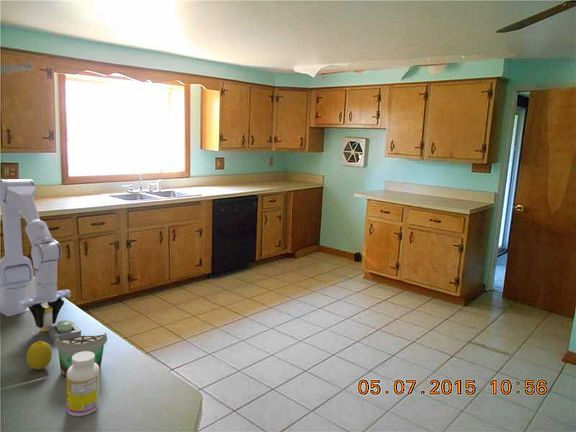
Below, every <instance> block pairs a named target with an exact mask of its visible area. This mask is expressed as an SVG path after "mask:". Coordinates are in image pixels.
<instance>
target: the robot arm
mask: <svg viewBox="0 0 576 432" xmlns="http://www.w3.org/2000/svg"><path fill="white" fill-rule="evenodd" d="M36 185H37V184H36V182H35V181H34V180H33V179H32V178H27V179H26V178H24V179H19V178H18V179H15V178H14V179H3V178H0V207H1V217H2V218H1V219H2V235H3V245H4V246H3V249H4V256H3V257H1V259H0V313H1V314H3V315H5V316H7V317H11V316H15V315H19V314H22V313H26V312H29V311H30V312H31V314H32V317H33V319H34V321H35V325H36V326H35V327H37V328H39V329H40V328H42V327H43V315H44V311H45V308H44V307H42V306H43V305H42V304H46V303H47V305H49V306H53V325H55V322H56V323H57V319H58V315H59V313H60V311H61V309H62V308H63V306H64V304H65V300H64V299H63V298H71V293H72V291H71V290H69V289H60V290H58V261H59V260H61V259H62V254H63V253H62V246H61V245H60V243H59V242H58V240H56V238H53V237H52V234H51V232H50V230H49V227H48V225H47V222H45V221H44V220H41V219H40V215H39V211H38V208H37V205H36V201H35V199H36V196H37V186H36ZM21 215H22V218H23V219H24V220H25V223H26V226H25V228H24V231H25V233H26V235H27V238H28V240H29V242H30V246H31V251H30V255H31V256H30V257H31V259H30V258H29V257H27V256H24V255H23V254H24V253H23V243H22V242H23V239H22V224H21V223H22V222H21ZM34 277H35V278H34ZM33 279H34V295H33V296H31V297H28V285H30V282H32V281H33Z"/></svg>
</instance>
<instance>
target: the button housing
mask: <svg viewBox="0 0 576 432" xmlns="http://www.w3.org/2000/svg"><path fill="white" fill-rule="evenodd" d="M72 322H73V323H72V331H69V332H64V333H59V334H58V332H57V325H53V326H51V327H49V331H48V332H49V333H48V335H49V337H50V339H51V340H52V341H53V343H54V344H55V341H56V339H57V337H58V339H59V340H62V339H70V338H75V337H79V336H82V330H81V329H80V328H79V326H78V325H77V324H76V323H75V322H74V321H72Z"/></svg>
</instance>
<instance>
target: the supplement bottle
mask: <svg viewBox="0 0 576 432" xmlns="http://www.w3.org/2000/svg"><path fill="white" fill-rule="evenodd" d="M94 361H95V354H94V353H93V352H90V351H83V352H78V353H76V354H74V355H73V356H72V366H70V367H69V369H68V370H67V378H66V388H65V389H66V392H65V393H66V394H65V395H66V398H65V399H66V400H65V401H66V402H65V403H66V404H65V407H66V408H65V409H66V412H67V413H68V415H70V416H73V417H84V416H88V415H91V414H92V413H93V412H95V411H96V410H97V409H98V407H99V405H100V403H99V401H100V400H99V399H100V371H99V366H98V364H96V363H95V362H94Z"/></svg>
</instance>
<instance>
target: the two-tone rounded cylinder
mask: <svg viewBox="0 0 576 432" xmlns="http://www.w3.org/2000/svg"><path fill="white" fill-rule="evenodd" d="M42 307H44V308H45V311H44V315H43V327H42V328H39V331H40V332H41V333H42V332H43V333H47V332H49V327H51V326H54V324H53V306H49V305H48V304H47V305H42Z"/></svg>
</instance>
